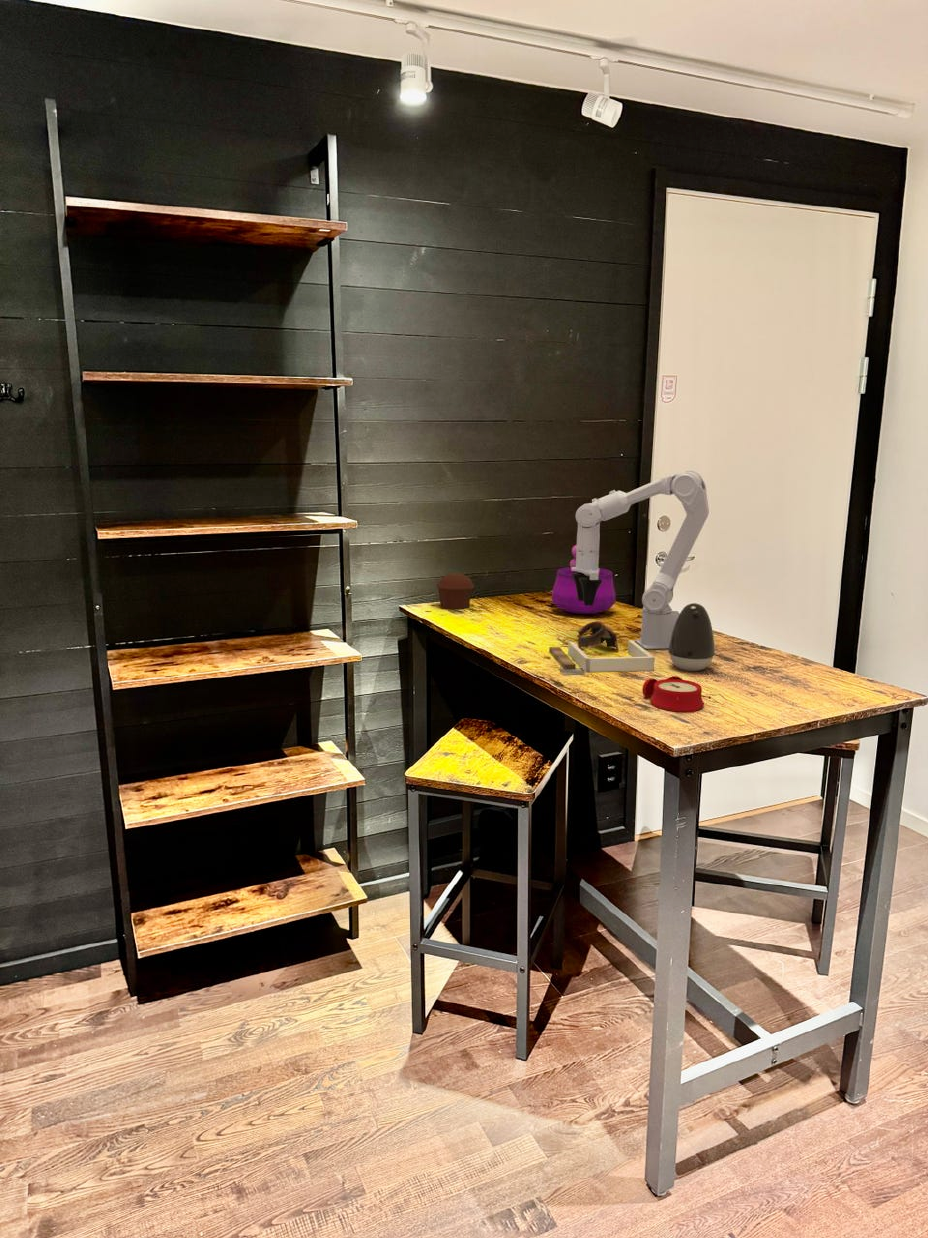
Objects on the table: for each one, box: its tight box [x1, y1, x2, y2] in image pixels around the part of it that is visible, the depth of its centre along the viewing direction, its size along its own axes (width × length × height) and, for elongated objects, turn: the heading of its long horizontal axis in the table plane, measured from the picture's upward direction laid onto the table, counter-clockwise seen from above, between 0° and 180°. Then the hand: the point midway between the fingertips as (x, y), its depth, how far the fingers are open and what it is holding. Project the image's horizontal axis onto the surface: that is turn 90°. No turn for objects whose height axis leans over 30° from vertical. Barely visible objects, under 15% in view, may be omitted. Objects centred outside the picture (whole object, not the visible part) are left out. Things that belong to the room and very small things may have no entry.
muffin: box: [436, 572, 475, 611], centre depth 258 cm, size 12×11×10 cm
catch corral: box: [567, 639, 656, 673], centre depth 200 cm, size 16×16×3 cm
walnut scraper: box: [548, 646, 586, 676], centre depth 199 cm, size 20×5×2 cm, turn 7°
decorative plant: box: [551, 544, 616, 615], centre depth 250 cm, size 19×18×30 cm
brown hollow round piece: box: [577, 620, 619, 653], centre depth 211 cm, size 12×10×8 cm
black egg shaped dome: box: [668, 602, 716, 672], centre depth 194 cm, size 10×10×15 cm
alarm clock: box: [641, 675, 712, 714], centre depth 171 cm, size 10×6×15 cm
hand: (585, 602), depth 220 cm, fingers open, 5 cm apart
